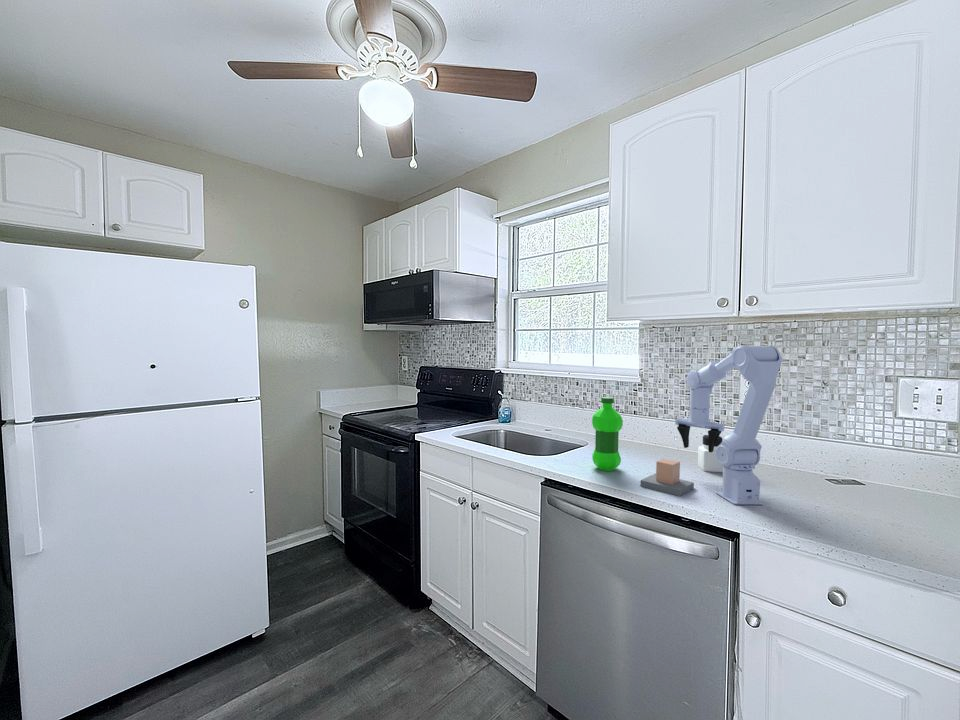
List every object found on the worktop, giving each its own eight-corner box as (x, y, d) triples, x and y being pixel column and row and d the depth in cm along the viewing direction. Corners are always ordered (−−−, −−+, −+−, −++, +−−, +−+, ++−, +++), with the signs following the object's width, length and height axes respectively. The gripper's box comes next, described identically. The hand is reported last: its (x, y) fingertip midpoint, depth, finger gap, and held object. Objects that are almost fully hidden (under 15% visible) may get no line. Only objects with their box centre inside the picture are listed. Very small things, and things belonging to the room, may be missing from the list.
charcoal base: (693, 488, 132) (693, 482, 131) (680, 496, 125) (680, 490, 125) (655, 478, 140) (655, 473, 140) (640, 485, 133) (640, 480, 133)
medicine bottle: (726, 472, 147) (727, 438, 147) (703, 471, 149) (704, 437, 148) (719, 467, 154) (720, 433, 154) (697, 465, 156) (698, 432, 155)
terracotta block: (679, 481, 133) (679, 461, 132) (672, 484, 129) (672, 464, 129) (663, 477, 136) (663, 458, 136) (656, 480, 133) (656, 461, 133)
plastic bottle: (585, 468, 152) (586, 397, 151) (602, 462, 159) (603, 395, 158) (610, 475, 144) (611, 400, 143) (627, 469, 151) (628, 397, 150)
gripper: (728, 409, 138) (726, 451, 139) (681, 404, 149) (680, 443, 149) (720, 411, 133) (719, 455, 134) (673, 406, 144) (671, 447, 144)
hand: (698, 449), depth 141 cm, fingers open, 7 cm apart
